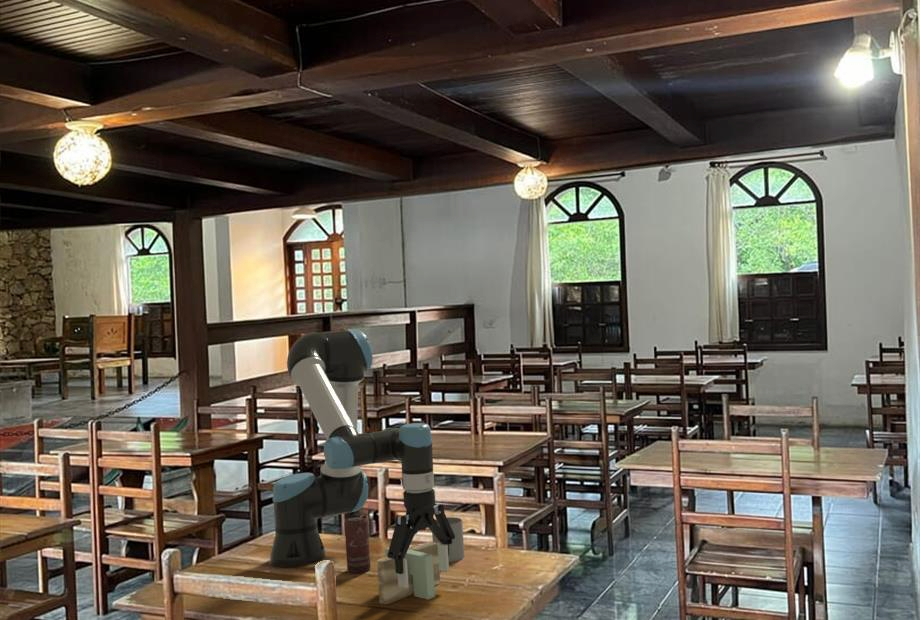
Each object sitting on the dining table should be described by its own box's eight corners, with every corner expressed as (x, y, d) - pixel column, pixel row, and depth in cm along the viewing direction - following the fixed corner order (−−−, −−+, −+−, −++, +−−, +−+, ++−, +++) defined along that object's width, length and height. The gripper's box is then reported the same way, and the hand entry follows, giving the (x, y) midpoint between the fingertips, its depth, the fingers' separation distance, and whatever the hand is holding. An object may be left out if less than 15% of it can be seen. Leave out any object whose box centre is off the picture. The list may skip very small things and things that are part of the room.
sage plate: (387, 588, 208) (385, 548, 208) (395, 586, 210) (392, 545, 210) (427, 599, 199) (425, 557, 199) (435, 596, 200) (432, 554, 200)
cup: (460, 562, 227) (458, 525, 227) (430, 562, 228) (428, 525, 228) (466, 553, 235) (464, 517, 235) (437, 553, 236) (435, 517, 236)
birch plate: (379, 602, 198) (377, 560, 198) (433, 581, 212) (431, 541, 212) (386, 604, 197) (383, 561, 197) (440, 583, 210) (437, 543, 210)
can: (375, 567, 227) (372, 515, 227) (362, 574, 221) (359, 521, 221) (355, 565, 229) (352, 514, 229) (343, 573, 223) (339, 520, 223)
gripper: (390, 502, 189) (396, 596, 189) (465, 480, 207) (471, 567, 207) (368, 498, 194) (374, 590, 194) (443, 478, 213) (449, 562, 213)
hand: (424, 578), depth 201 cm, fingers open, 13 cm apart
